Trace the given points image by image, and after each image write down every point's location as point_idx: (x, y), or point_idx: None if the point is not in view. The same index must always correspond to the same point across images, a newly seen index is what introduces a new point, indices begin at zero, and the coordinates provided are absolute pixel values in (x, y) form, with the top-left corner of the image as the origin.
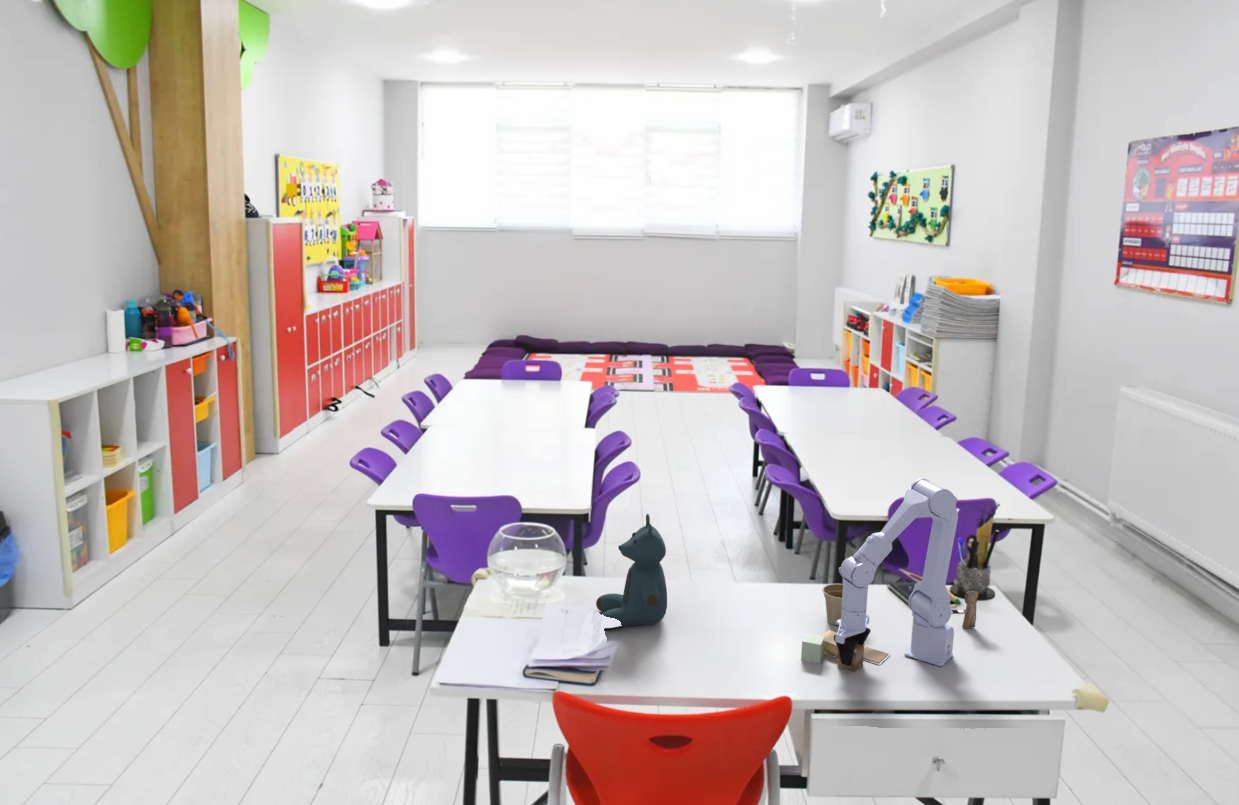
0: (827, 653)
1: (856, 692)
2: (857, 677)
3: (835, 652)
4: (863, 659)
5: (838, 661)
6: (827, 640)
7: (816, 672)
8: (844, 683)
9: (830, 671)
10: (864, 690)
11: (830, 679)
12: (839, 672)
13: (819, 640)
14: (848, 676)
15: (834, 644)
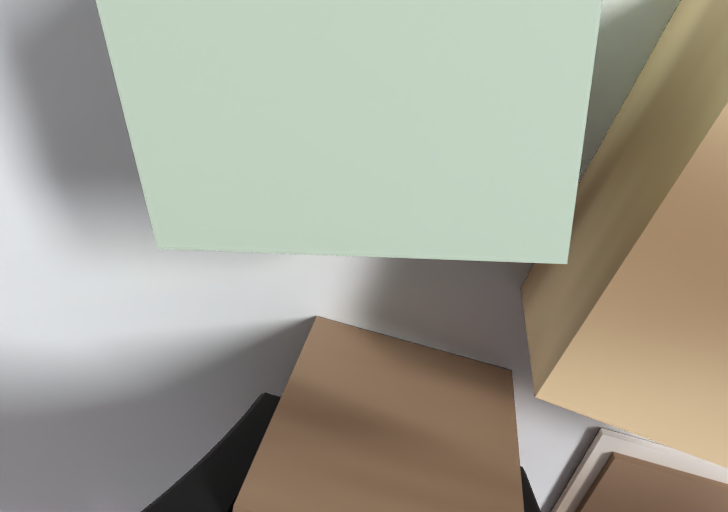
0: (586, 177)
1: (6, 466)
2: None
3: (536, 305)
4: (557, 510)
5: (300, 360)
6: (702, 236)
7: (70, 142)
8: (62, 393)
9: (181, 269)
10: (68, 505)
11: (41, 290)
12: (212, 344)
13: (337, 190)
14: (189, 411)
15: (565, 355)
